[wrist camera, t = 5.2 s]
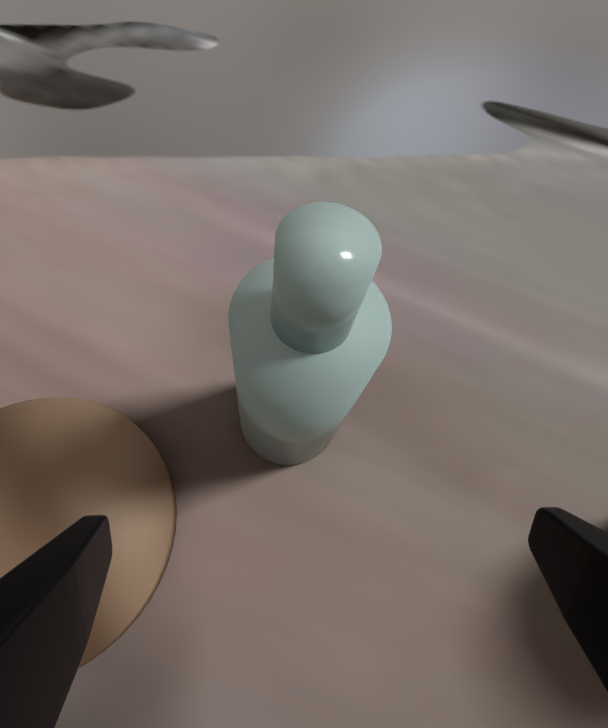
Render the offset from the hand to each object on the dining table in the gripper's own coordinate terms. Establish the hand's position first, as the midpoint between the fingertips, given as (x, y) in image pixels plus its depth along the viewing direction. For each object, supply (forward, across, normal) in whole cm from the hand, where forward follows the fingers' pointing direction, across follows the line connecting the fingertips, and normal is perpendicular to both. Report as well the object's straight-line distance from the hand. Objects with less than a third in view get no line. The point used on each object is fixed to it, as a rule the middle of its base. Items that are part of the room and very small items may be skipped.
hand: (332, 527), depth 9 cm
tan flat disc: (+10, +11, +8) cm, 17 cm away
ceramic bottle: (+13, 0, +4) cm, 14 cm away
